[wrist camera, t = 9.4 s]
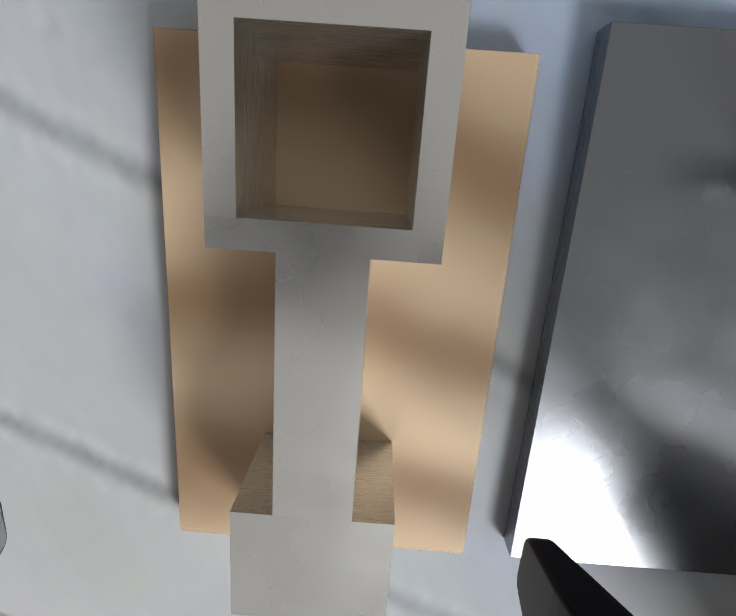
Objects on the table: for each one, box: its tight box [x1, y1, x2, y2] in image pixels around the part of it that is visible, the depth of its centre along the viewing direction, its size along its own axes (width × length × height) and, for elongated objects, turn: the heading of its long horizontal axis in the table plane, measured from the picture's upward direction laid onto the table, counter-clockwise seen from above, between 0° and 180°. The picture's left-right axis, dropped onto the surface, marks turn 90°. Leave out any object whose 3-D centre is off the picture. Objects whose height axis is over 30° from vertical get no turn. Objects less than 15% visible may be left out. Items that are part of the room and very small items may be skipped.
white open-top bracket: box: [197, 0, 471, 616], centre depth 15 cm, size 18×6×4 cm, turn 176°
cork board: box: [153, 28, 540, 553], centre depth 18 cm, size 19×12×1 cm, turn 176°
